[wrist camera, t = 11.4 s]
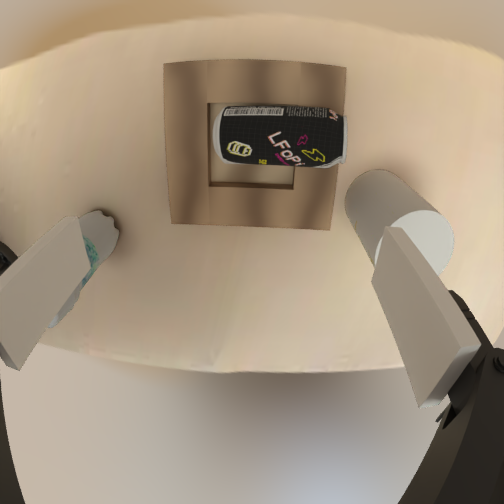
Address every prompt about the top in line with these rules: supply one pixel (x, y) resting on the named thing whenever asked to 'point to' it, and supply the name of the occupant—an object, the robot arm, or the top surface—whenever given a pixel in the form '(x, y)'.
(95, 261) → the bottle
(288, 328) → the top surface
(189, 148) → the socket block
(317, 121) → the beverage can
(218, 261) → the top surface
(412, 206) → the cup
